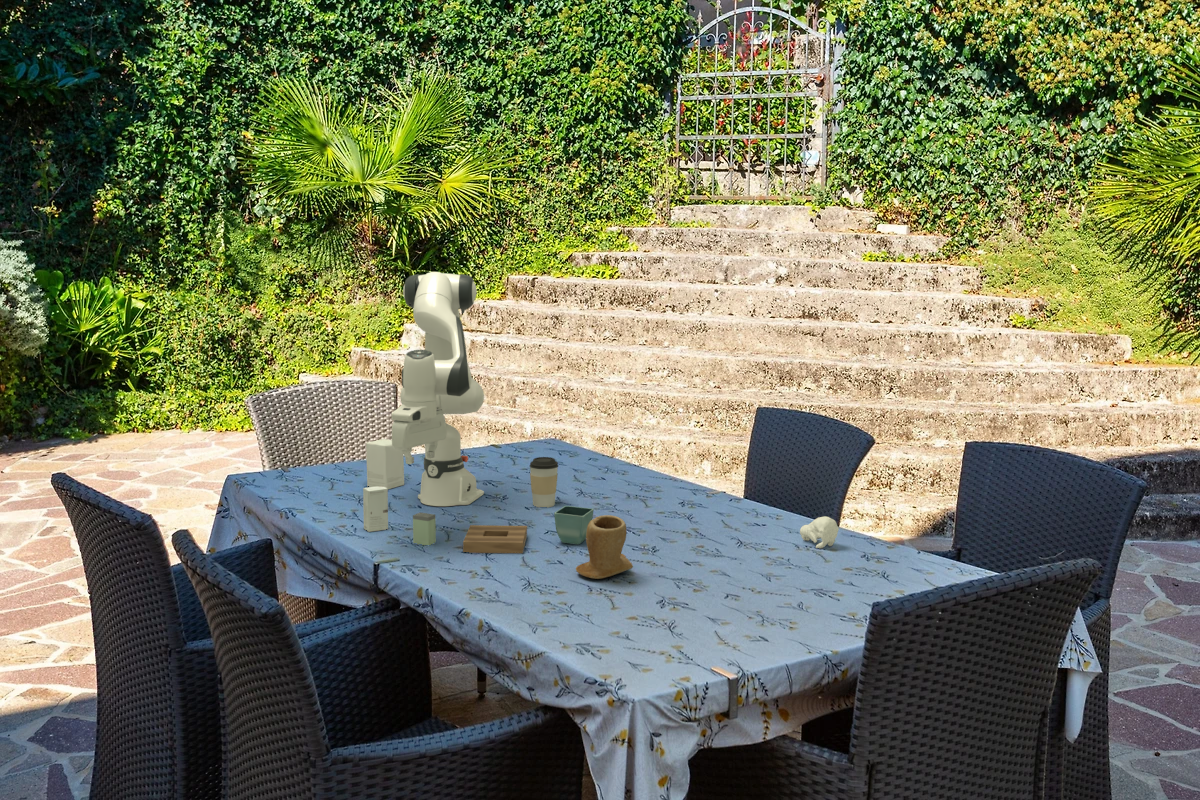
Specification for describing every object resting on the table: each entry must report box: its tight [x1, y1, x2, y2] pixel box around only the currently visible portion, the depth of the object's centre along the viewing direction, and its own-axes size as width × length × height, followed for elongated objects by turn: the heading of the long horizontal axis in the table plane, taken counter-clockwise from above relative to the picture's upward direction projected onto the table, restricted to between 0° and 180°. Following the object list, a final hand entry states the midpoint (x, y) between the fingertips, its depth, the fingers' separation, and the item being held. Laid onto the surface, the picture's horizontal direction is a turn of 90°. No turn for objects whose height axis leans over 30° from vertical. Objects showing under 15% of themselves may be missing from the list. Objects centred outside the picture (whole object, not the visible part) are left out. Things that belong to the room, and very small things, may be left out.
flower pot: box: [554, 505, 594, 545], centre depth 302 cm, size 9×9×9 cm
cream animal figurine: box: [799, 516, 840, 549], centre depth 303 cm, size 6×8×12 cm
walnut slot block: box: [462, 524, 528, 554], centre depth 300 cm, size 16×16×3 cm
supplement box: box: [365, 438, 405, 490], centre depth 362 cm, size 9×9×15 cm
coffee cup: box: [529, 456, 559, 508], centre depth 340 cm, size 9×9×15 cm
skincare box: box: [362, 486, 389, 533], centre depth 312 cm, size 6×4×12 cm
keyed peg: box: [412, 512, 437, 546], centre depth 299 cm, size 4×5×8 cm
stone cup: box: [575, 514, 634, 580], centre depth 275 cm, size 15×12×15 cm
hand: (420, 460), depth 297 cm, fingers open, 8 cm apart
